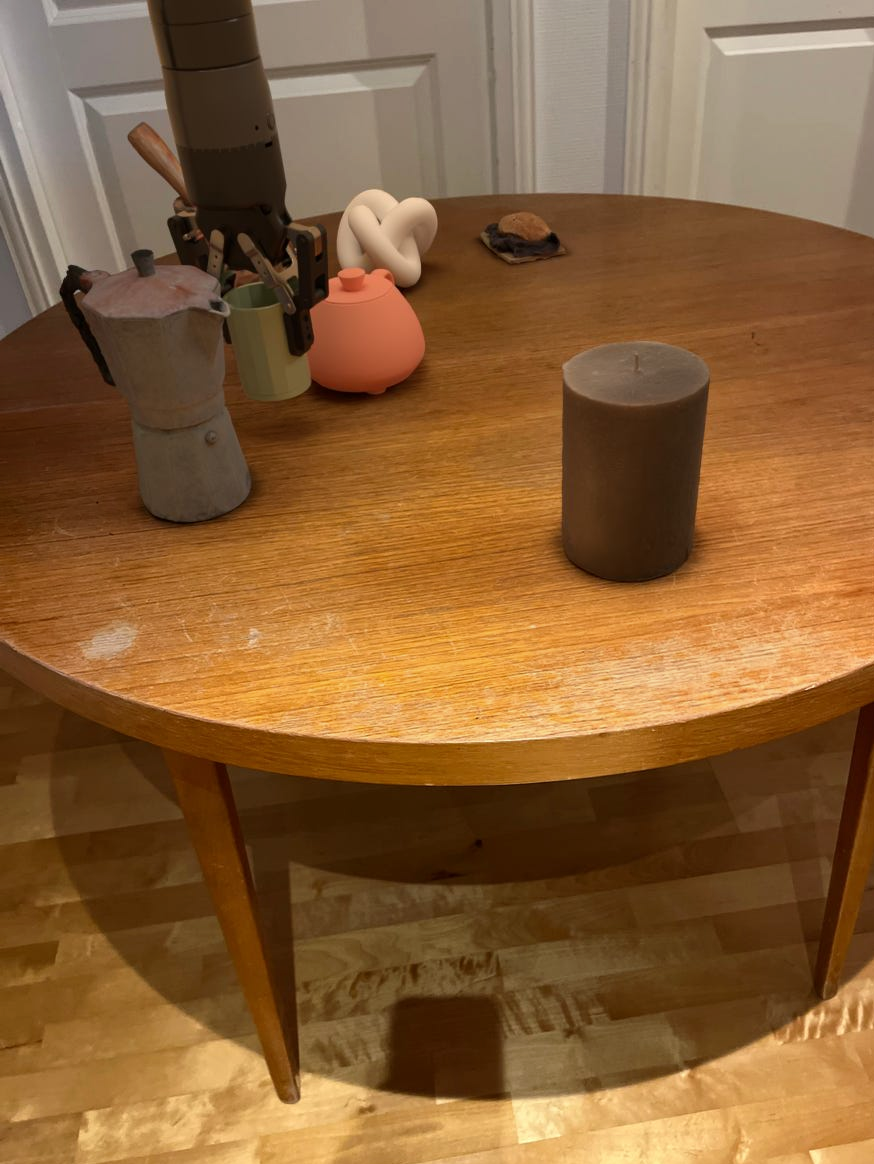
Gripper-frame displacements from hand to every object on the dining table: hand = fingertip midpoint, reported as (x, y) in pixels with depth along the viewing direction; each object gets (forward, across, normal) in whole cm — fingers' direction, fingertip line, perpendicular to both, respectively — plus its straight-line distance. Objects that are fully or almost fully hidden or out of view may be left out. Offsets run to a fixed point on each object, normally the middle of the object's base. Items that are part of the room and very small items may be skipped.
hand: (269, 346), depth 83 cm
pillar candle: (+8, +34, -5) cm, 35 cm away
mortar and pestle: (+8, -20, +18) cm, 28 cm away
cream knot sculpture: (+8, -9, +36) cm, 38 cm away
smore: (+8, +1, +50) cm, 51 cm away
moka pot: (+8, -1, -12) cm, 14 cm away
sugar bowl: (+8, +1, +13) cm, 15 cm away
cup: (+4, 0, 0) cm, 4 cm away
